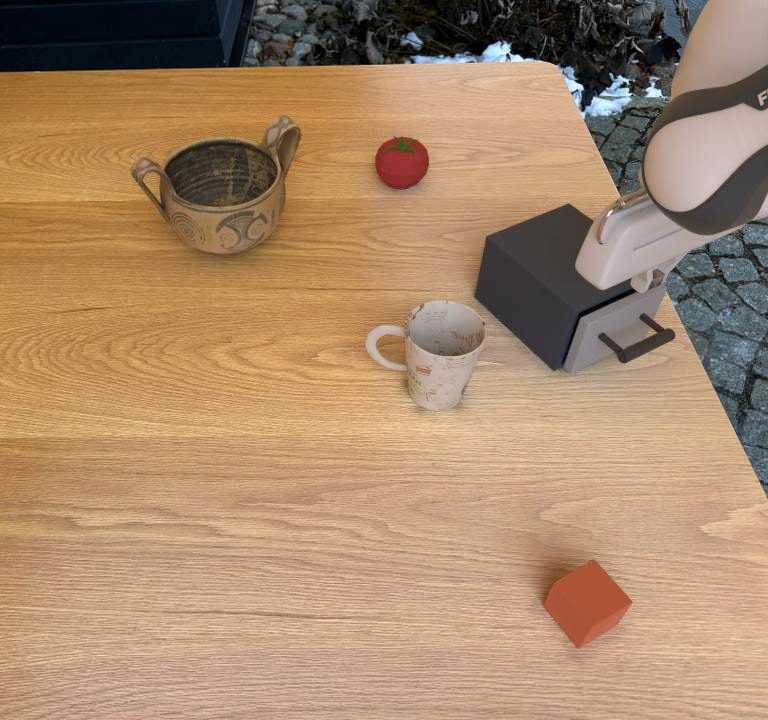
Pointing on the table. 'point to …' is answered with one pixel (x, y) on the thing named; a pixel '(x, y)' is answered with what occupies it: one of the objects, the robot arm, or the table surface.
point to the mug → (436, 351)
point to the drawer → (617, 329)
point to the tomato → (402, 162)
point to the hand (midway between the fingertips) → (646, 285)
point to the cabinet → (540, 280)
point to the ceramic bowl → (224, 187)
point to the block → (586, 603)
